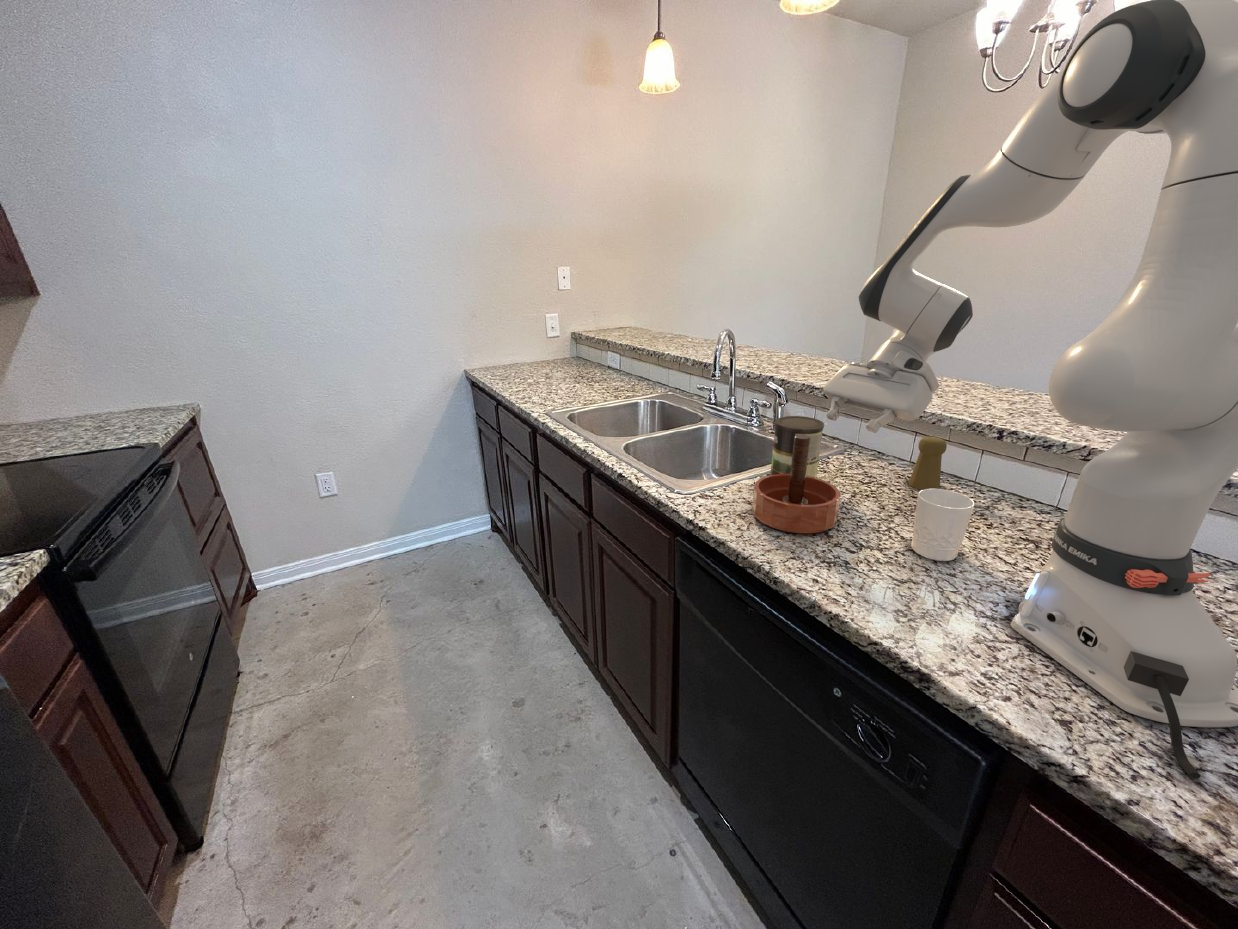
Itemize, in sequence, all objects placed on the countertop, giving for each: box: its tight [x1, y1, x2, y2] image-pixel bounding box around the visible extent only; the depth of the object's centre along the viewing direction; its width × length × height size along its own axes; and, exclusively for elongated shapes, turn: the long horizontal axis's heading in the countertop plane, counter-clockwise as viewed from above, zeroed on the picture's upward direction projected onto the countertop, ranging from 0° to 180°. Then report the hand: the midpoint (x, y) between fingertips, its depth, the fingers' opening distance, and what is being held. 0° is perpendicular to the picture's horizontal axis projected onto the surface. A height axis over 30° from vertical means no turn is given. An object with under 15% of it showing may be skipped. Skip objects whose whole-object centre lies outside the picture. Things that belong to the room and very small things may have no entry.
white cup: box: [910, 488, 976, 562], centre depth 83 cm, size 8×8×10 cm
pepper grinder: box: [908, 436, 948, 491], centre depth 109 cm, size 6×6×11 cm
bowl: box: [752, 474, 841, 534], centre depth 97 cm, size 16×16×6 cm
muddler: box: [782, 434, 810, 505], centre depth 95 cm, size 5×5×16 cm
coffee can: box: [769, 415, 825, 478], centre depth 112 cm, size 10×10×14 cm
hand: (849, 424), depth 97 cm, fingers open, 8 cm apart
